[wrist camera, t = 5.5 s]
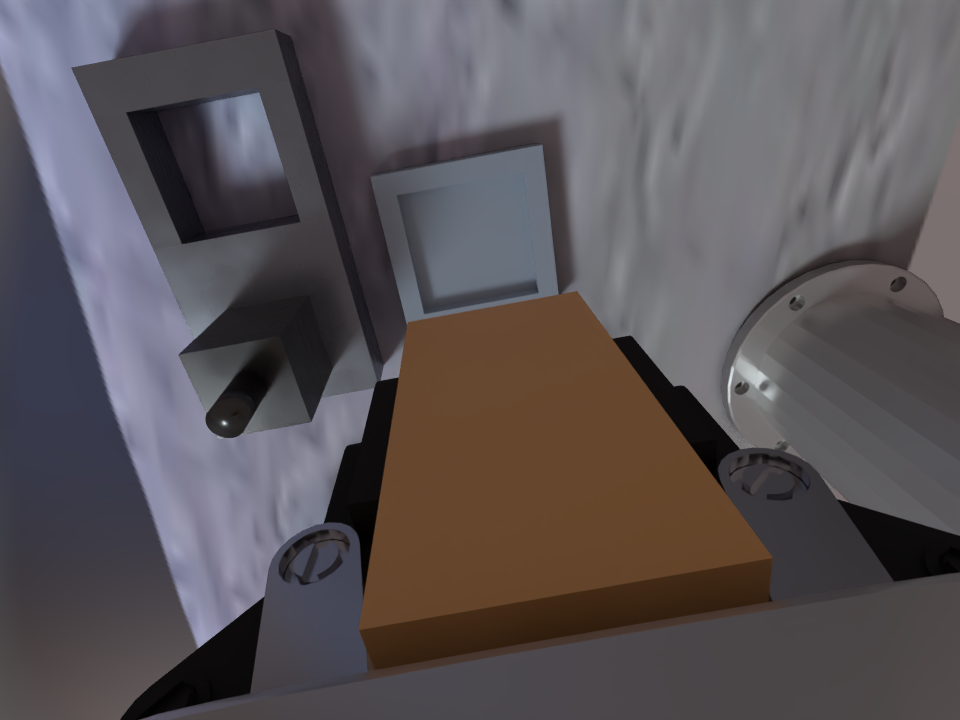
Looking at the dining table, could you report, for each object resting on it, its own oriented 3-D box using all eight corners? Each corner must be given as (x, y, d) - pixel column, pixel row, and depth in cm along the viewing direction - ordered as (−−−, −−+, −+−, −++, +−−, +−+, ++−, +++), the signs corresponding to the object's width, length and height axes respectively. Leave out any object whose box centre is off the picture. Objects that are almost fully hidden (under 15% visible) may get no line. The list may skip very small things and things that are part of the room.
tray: (538, 142, 25) (542, 144, 24) (555, 299, 28) (559, 307, 27) (372, 174, 25) (369, 177, 24) (410, 326, 28) (409, 335, 27)
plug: (577, 290, 12) (864, 682, 4) (590, 433, 14) (807, 910, 6) (407, 322, 12) (336, 773, 4) (441, 459, 14) (441, 971, 6)
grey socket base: (107, 71, 22) (-110, 48, 14) (291, 36, 22) (193, -10, 13) (244, 391, 29) (160, 514, 21) (383, 365, 29) (359, 477, 21)
